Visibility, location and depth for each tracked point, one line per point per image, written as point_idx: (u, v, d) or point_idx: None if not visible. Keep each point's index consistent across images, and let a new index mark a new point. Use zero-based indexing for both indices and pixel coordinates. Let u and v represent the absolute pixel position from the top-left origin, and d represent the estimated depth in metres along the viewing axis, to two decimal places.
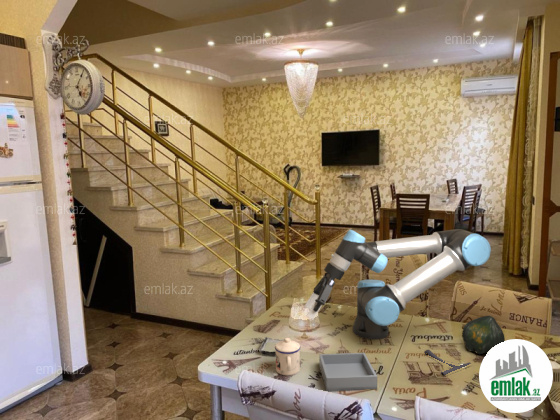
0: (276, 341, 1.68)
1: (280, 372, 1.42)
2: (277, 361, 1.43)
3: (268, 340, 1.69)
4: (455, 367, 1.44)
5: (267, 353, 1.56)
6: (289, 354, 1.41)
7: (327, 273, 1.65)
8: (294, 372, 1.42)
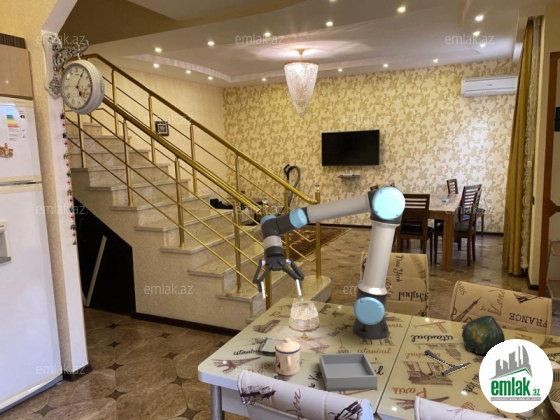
0: (276, 341, 1.68)
1: (280, 372, 1.42)
2: (277, 361, 1.43)
3: (268, 340, 1.69)
4: (455, 367, 1.44)
5: (267, 353, 1.56)
6: (289, 354, 1.41)
7: None
8: (294, 372, 1.42)
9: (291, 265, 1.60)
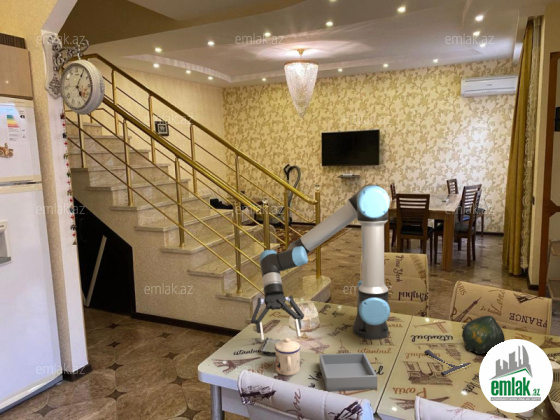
0: (277, 341, 1.68)
1: (280, 372, 1.42)
2: (277, 361, 1.43)
3: (269, 340, 1.68)
4: (455, 367, 1.44)
5: (268, 353, 1.56)
6: (289, 354, 1.41)
7: None
8: (294, 372, 1.42)
9: (290, 303, 1.57)
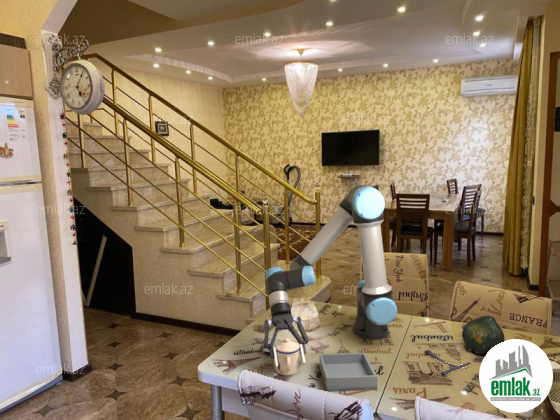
0: (278, 341, 1.67)
1: (280, 372, 1.42)
2: None
3: (270, 341, 1.68)
4: (455, 367, 1.44)
5: None
6: (289, 354, 1.40)
7: None
8: (294, 372, 1.42)
9: (297, 324, 1.50)
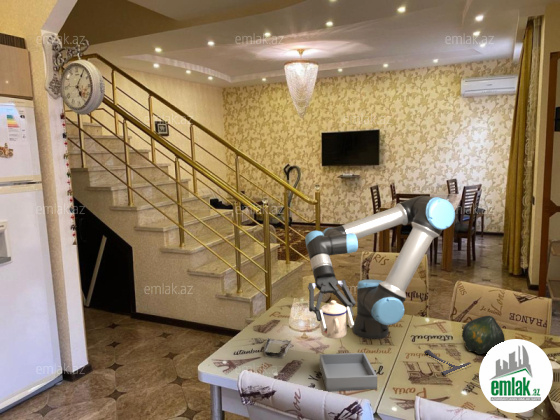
0: (279, 342, 1.67)
1: (327, 335, 1.37)
2: None
3: (271, 341, 1.68)
4: (455, 367, 1.44)
5: (272, 354, 1.55)
6: (336, 316, 1.35)
7: None
8: (341, 335, 1.37)
9: (342, 288, 1.45)
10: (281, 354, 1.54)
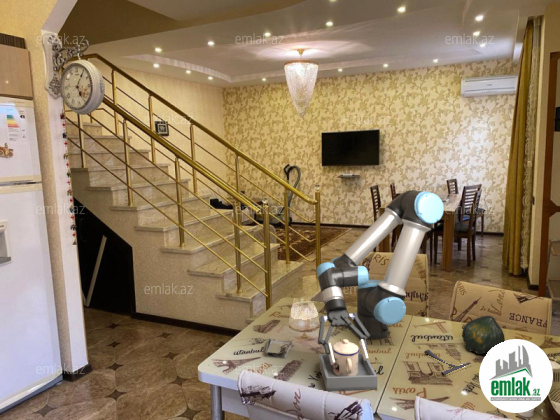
0: (280, 342, 1.67)
1: (339, 374, 1.38)
2: (335, 363, 1.39)
3: (272, 341, 1.67)
4: (455, 367, 1.44)
5: (274, 355, 1.55)
6: (349, 356, 1.36)
7: (353, 314, 1.49)
8: (353, 374, 1.38)
9: (354, 320, 1.46)
10: (283, 354, 1.54)
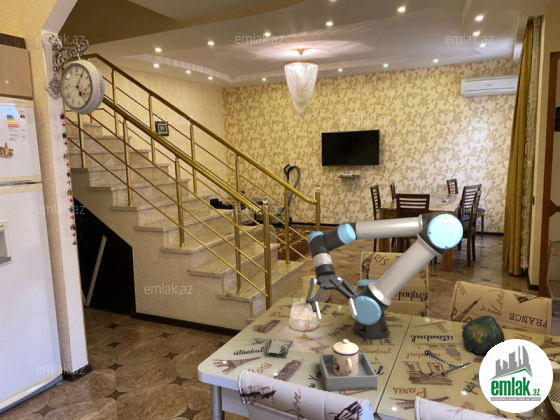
0: (281, 342, 1.67)
1: (339, 374, 1.38)
2: (335, 363, 1.39)
3: (272, 342, 1.67)
4: (455, 367, 1.44)
5: (275, 355, 1.55)
6: (349, 356, 1.36)
7: None
8: (353, 374, 1.38)
9: (343, 283, 1.57)
10: (285, 355, 1.54)
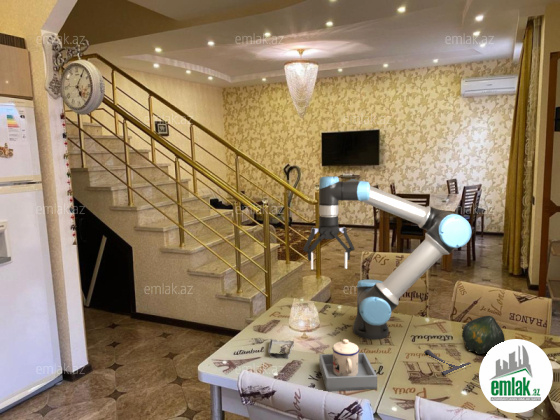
0: (281, 342, 1.66)
1: (339, 374, 1.38)
2: (335, 363, 1.39)
3: (273, 342, 1.67)
4: (455, 367, 1.44)
5: (277, 355, 1.55)
6: (349, 356, 1.36)
7: (343, 227, 1.61)
8: (353, 374, 1.38)
9: (343, 234, 1.61)
10: (286, 355, 1.54)
